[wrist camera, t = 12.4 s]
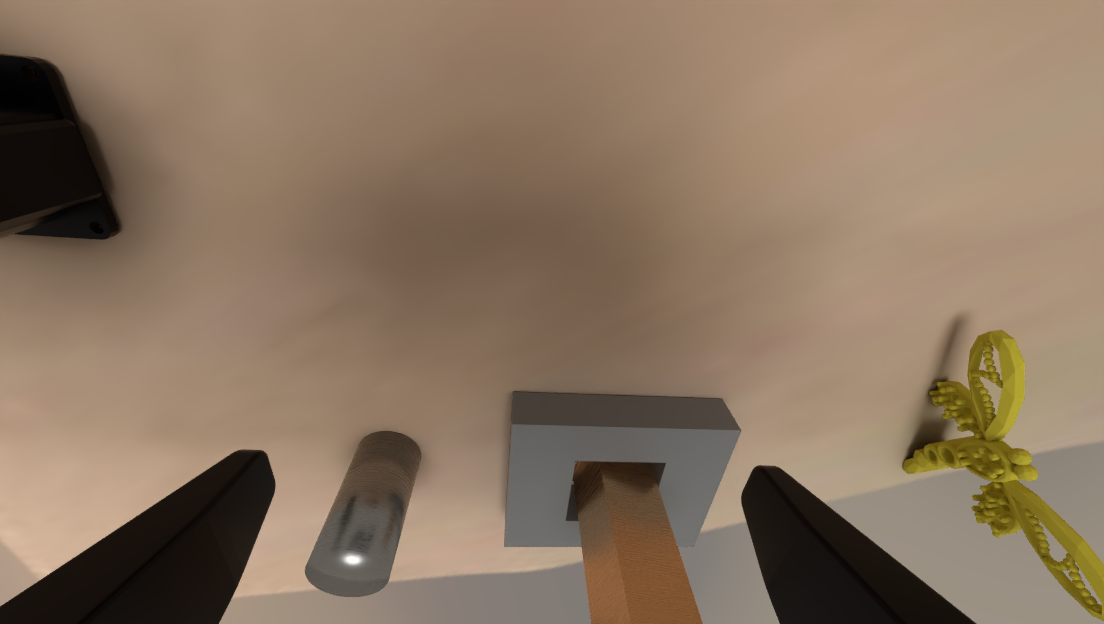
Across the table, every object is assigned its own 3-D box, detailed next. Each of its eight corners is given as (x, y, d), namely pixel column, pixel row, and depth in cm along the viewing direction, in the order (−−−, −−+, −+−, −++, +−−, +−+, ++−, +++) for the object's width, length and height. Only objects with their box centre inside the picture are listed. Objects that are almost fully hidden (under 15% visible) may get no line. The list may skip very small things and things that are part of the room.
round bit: (361, 474, 26) (312, 597, 20) (354, 430, 24) (297, 550, 18) (422, 475, 26) (392, 596, 20) (419, 432, 25) (385, 550, 19)
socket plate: (505, 510, 28) (504, 546, 26) (512, 391, 24) (512, 424, 22) (681, 511, 30) (693, 546, 27) (722, 398, 25) (741, 430, 23)
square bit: (572, 471, 27) (603, 723, 17) (593, 433, 26) (642, 683, 15) (621, 482, 28) (680, 729, 17) (644, 445, 26) (724, 691, 16)
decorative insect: (859, 354, 30) (987, 332, 21) (906, 345, 30) (1057, 318, 21) (927, 552, 28) (1111, 635, 18) (979, 543, 28) (1194, 622, 18)
